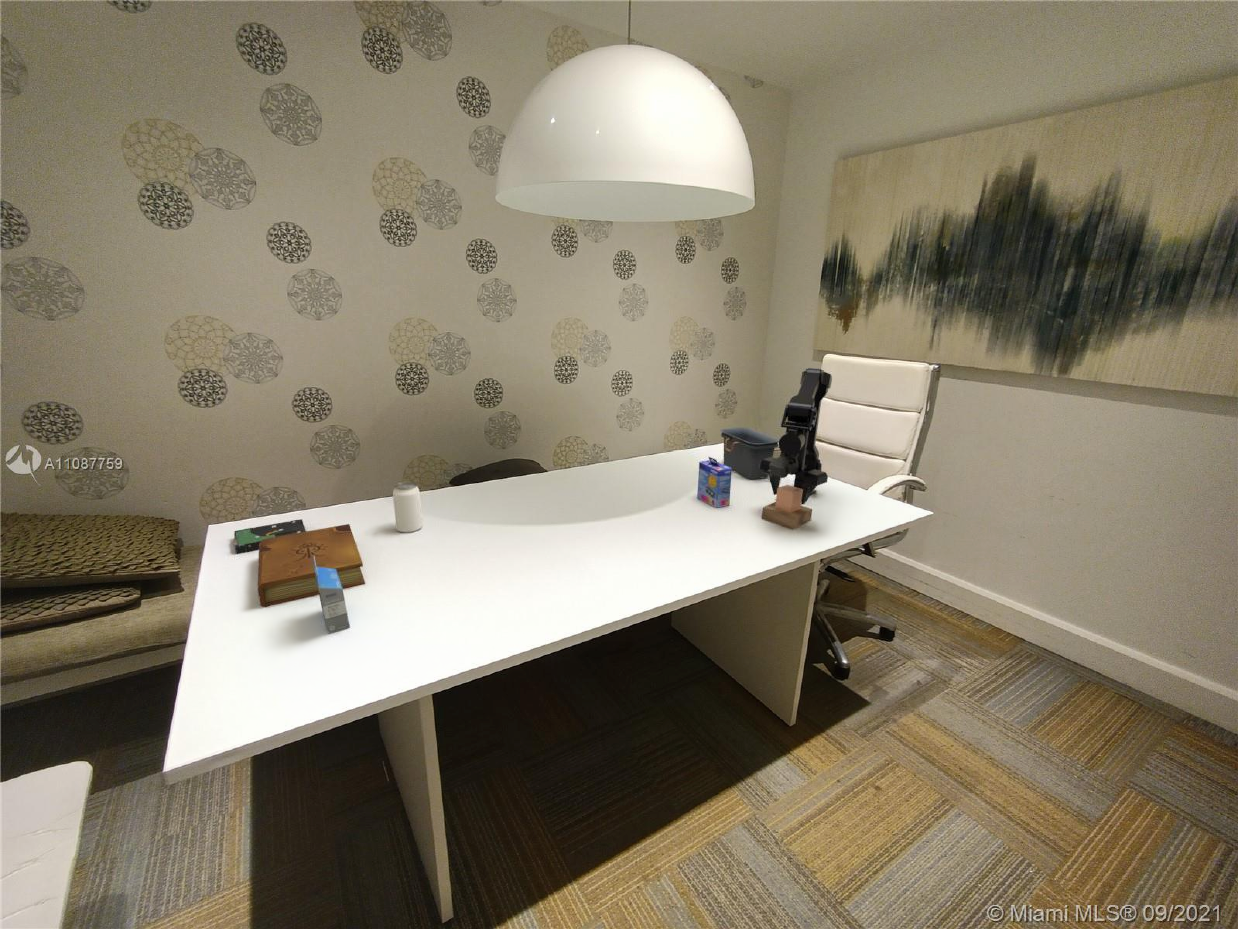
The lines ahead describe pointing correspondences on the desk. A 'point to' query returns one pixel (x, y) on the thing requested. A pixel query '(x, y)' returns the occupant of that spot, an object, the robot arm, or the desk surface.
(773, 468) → the robot arm
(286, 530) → the disk drive
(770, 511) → the walnut block
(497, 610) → the desk surface
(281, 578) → the diary
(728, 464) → the storage bin
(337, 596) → the label tape box
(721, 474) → the ink cartridge box
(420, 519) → the can
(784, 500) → the terracotta box
